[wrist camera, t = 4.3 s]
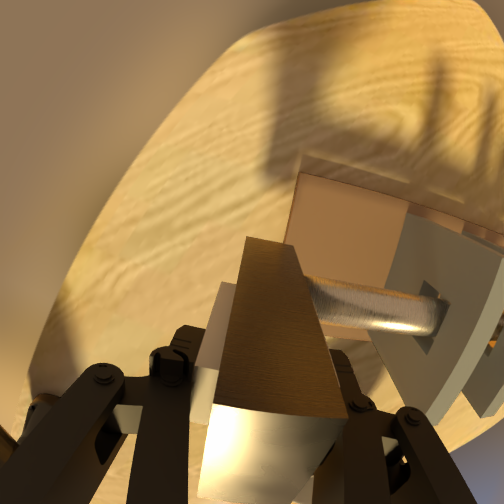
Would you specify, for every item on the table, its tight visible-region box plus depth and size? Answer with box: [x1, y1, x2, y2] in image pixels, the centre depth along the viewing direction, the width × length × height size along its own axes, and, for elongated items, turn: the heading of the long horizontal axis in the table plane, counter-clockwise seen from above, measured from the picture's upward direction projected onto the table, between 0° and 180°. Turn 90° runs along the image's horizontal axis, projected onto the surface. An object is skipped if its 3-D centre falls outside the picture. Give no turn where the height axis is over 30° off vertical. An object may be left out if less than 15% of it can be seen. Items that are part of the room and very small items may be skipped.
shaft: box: [197, 236, 504, 504], centre depth 13 cm, size 27×5×14 cm, turn 79°
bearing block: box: [283, 172, 504, 426], centre depth 20 cm, size 26×14×14 cm, turn 79°
